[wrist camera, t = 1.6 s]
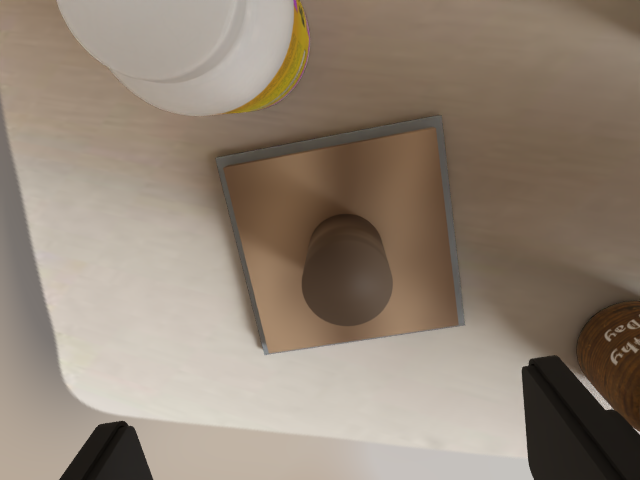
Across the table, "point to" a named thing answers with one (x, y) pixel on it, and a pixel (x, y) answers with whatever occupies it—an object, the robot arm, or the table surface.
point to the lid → (346, 240)
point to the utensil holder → (614, 357)
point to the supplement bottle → (196, 50)
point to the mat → (337, 140)
